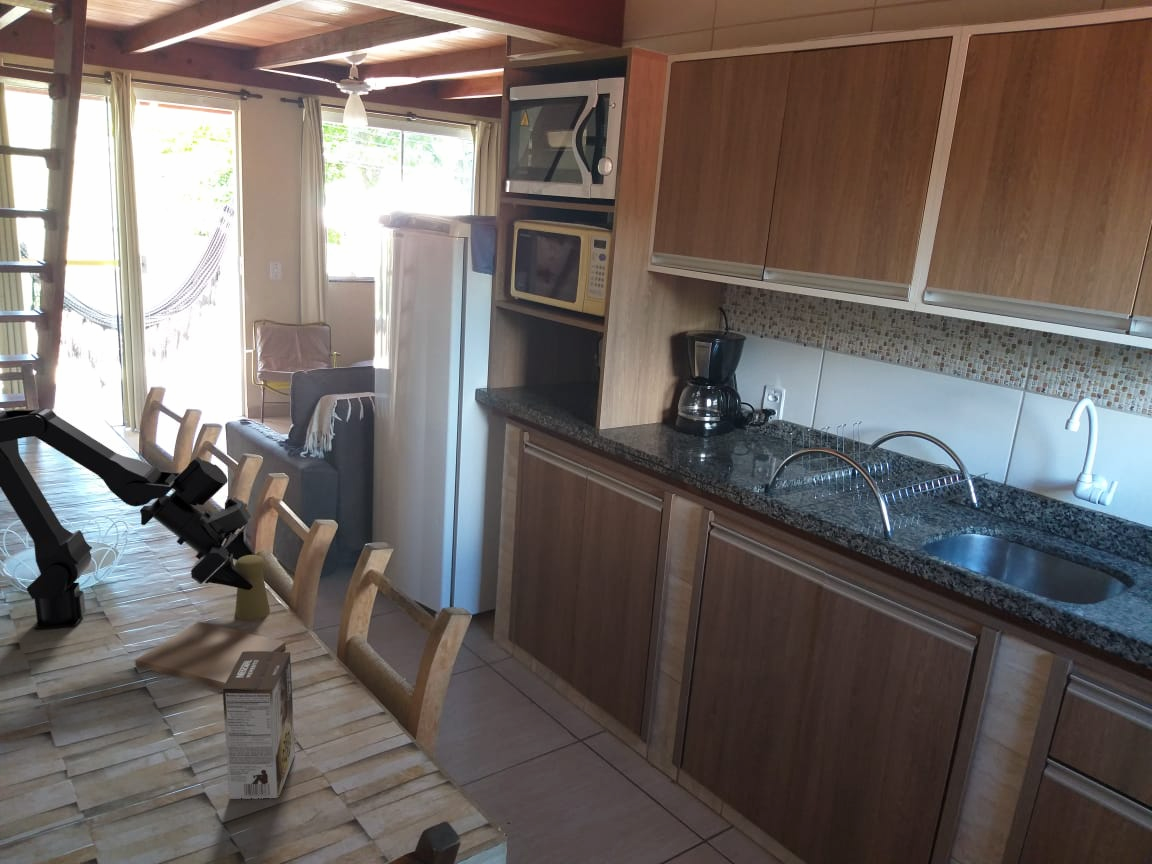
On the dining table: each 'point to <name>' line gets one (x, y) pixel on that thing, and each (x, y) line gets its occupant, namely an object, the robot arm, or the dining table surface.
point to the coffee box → (259, 724)
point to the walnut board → (205, 653)
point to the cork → (252, 589)
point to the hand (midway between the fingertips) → (256, 577)
